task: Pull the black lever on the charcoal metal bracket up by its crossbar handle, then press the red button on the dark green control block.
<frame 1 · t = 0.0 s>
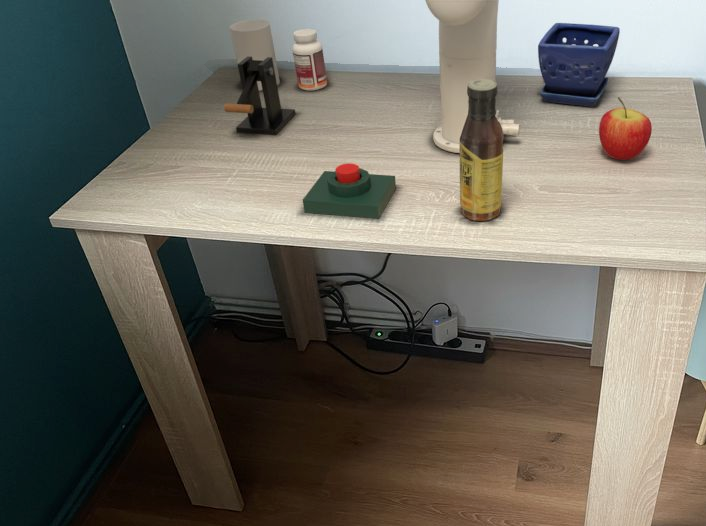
bracket: (266, 123, 140), on the table
pill bottle: (313, 87, 155), on the table
flower pot: (574, 97, 145), on the table
control block: (351, 200, 115), on the table
sauce bottle: (480, 214, 110), on the table
button: (348, 173, 112), point 5 cm above the table, slide at 0.2 cm
lever: (248, 88, 131), point 8 cm above the table, hinge at -20.0°
cup: (261, 84, 157), on the table
apple: (621, 157, 123), on the table
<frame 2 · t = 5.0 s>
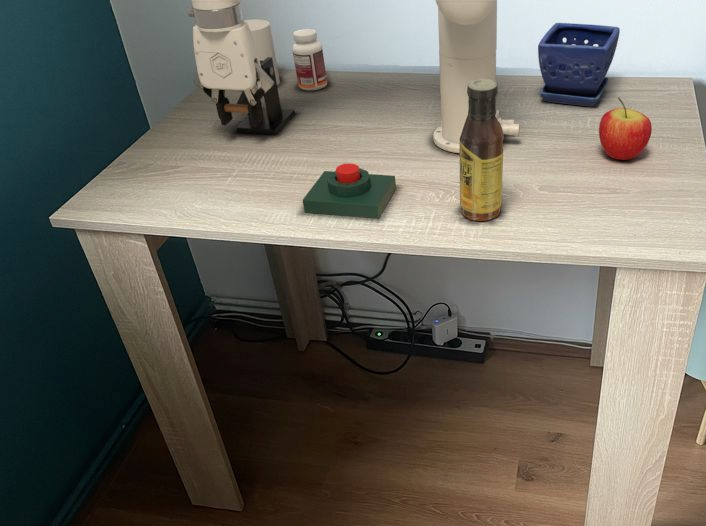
hand: (241, 122, 131), 4 cm above the table, tool pointing down, fingers closed on lever, 5 cm apart
lever: (248, 88, 131), point 8 cm above the table, hinge at -20.0°, touching gripper
everything else where it was.
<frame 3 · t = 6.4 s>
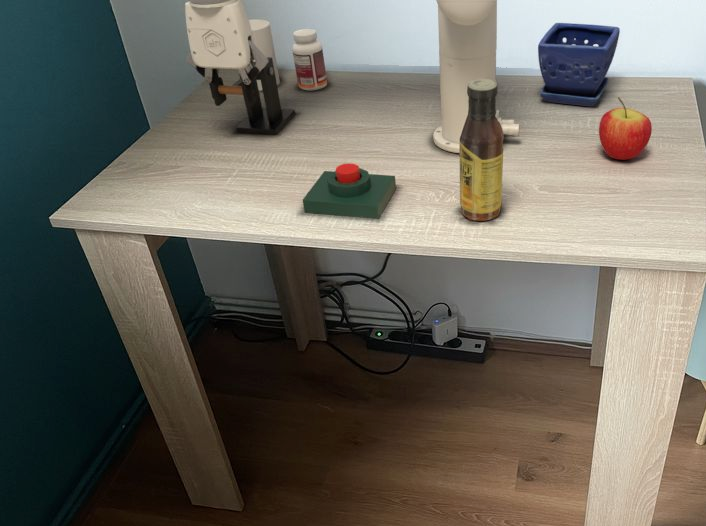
hand: (236, 102, 128), 8 cm above the table, tool pointing down, fingers closed on lever, 5 cm apart
lever: (246, 79, 130), point 10 cm above the table, hinge at 0.6°, touching gripper
everything else where it was.
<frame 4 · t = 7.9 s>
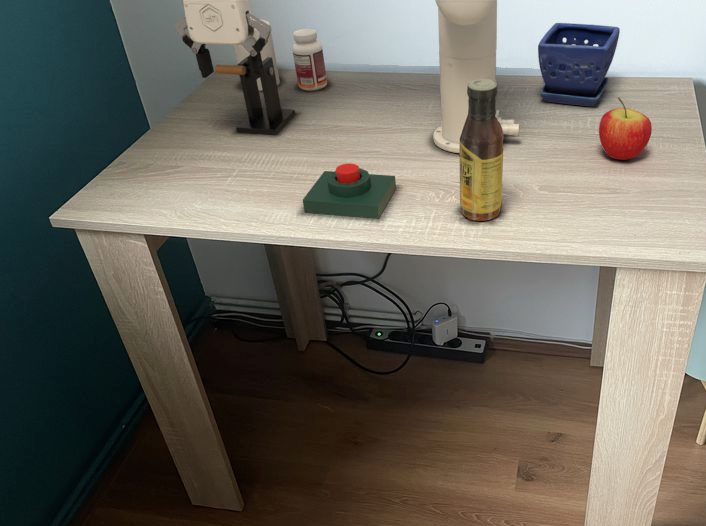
hand: (232, 76, 126), 12 cm above the table, tool pointing down, fingers open, 8 cm apart
lever: (245, 70, 129), point 12 cm above the table, hinge at 19.8°
everything else where it was.
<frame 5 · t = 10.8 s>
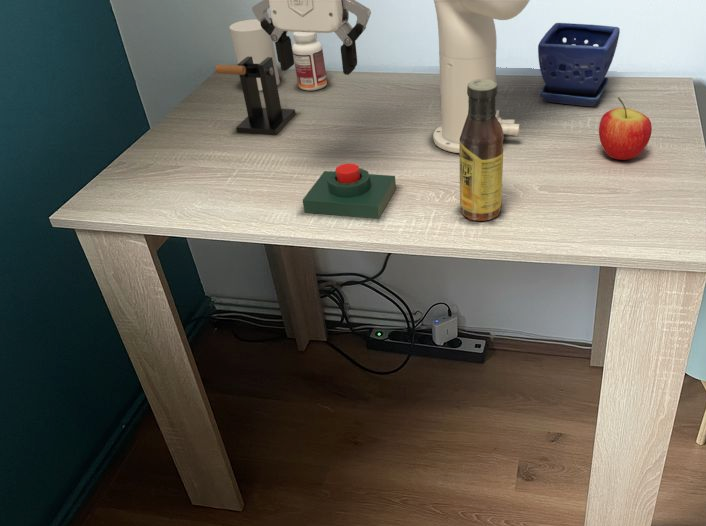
hand: (318, 69, 106), 19 cm above the table, tool pointing down, fingers open, 9 cm apart
nothing on the table moved.
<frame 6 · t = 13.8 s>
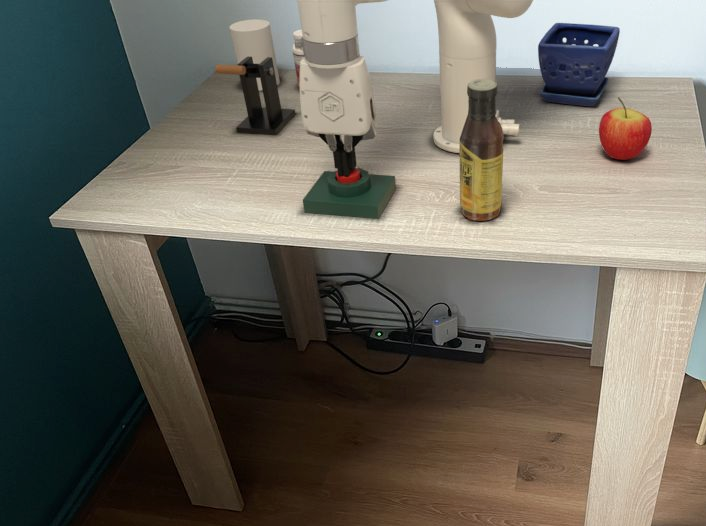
hand: (346, 172, 112), 5 cm above the table, tool pointing down, fingers closed
button: (348, 177, 112), point 4 cm above the table, slide at -0.4 cm, touching gripper
everything else where it was.
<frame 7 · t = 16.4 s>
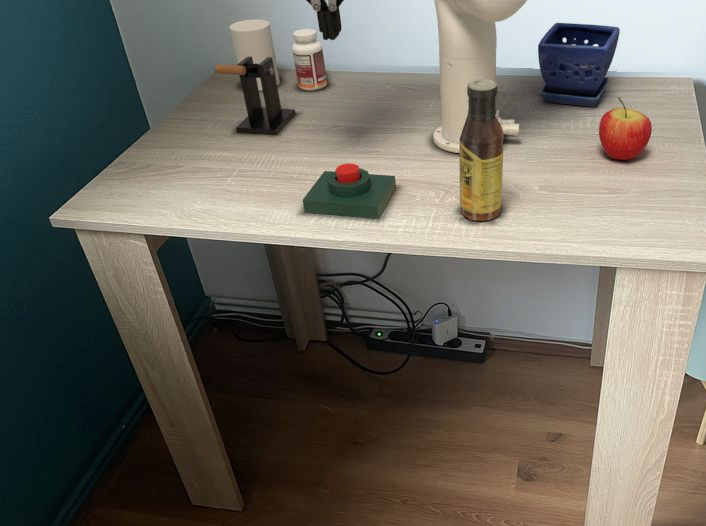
hand: (331, 36, 109), 22 cm above the table, tool pointing down, fingers closed
button: (348, 173, 112), point 5 cm above the table, slide at 0.2 cm
everything else where it was.
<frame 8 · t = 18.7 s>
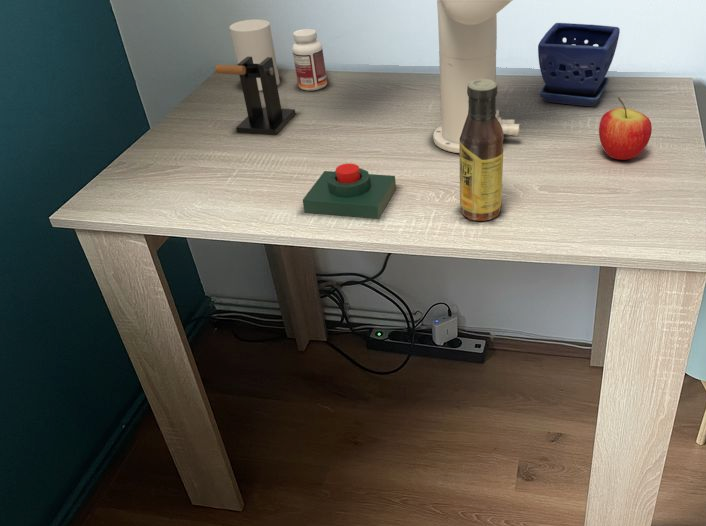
nothing on the table moved.
at the end: lever at +20° (first picture: -20°); button pushed in 1.1 cm at the most during the clip, back to 0.2 cm at the end; button slide at 0.2 cm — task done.
